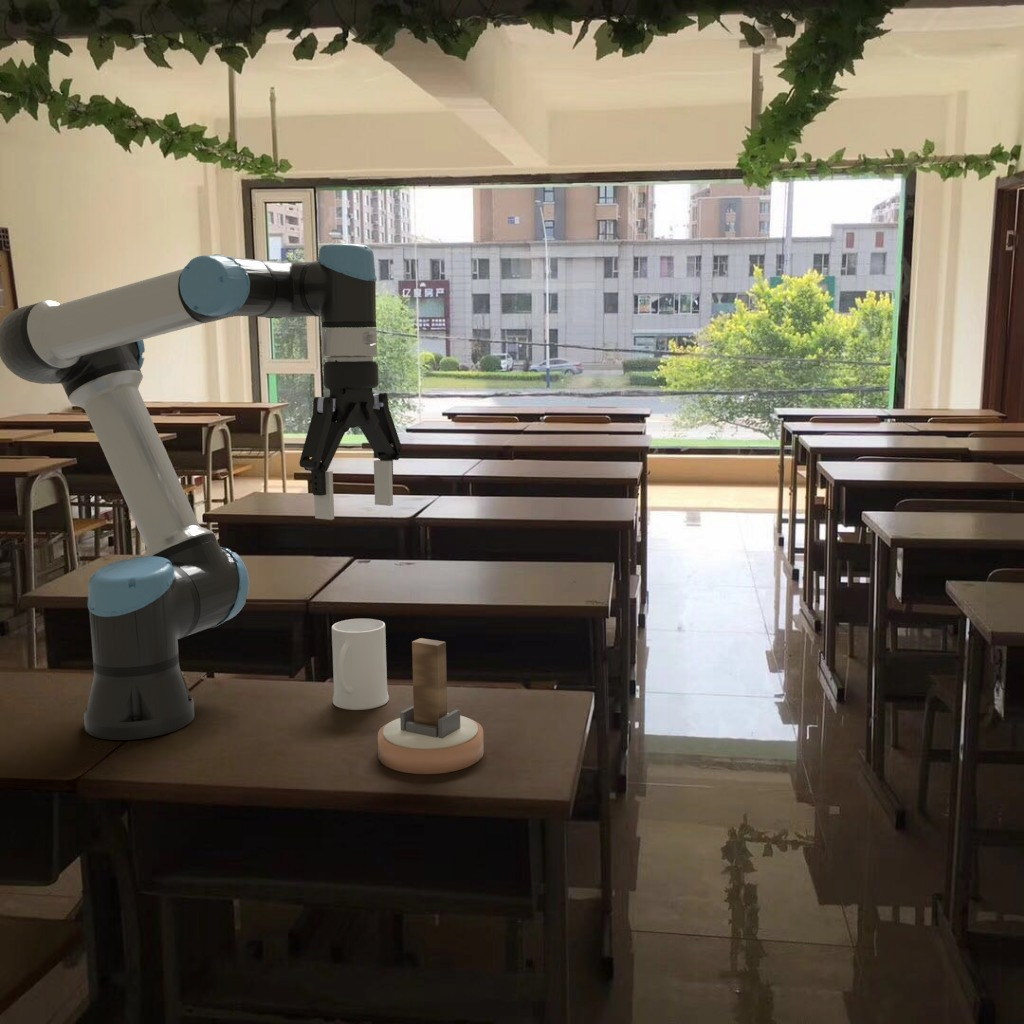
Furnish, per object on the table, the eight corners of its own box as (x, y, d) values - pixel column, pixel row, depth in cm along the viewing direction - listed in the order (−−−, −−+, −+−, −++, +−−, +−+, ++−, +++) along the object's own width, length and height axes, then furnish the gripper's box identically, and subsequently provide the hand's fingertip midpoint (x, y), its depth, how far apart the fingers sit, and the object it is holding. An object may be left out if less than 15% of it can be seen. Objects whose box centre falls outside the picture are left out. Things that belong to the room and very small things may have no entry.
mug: (362, 720, 156) (360, 640, 155) (311, 714, 159) (308, 635, 157) (398, 695, 167) (396, 620, 166) (349, 689, 170) (347, 616, 168)
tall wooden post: (414, 728, 143) (411, 641, 141) (422, 724, 145) (420, 638, 143) (439, 733, 141) (437, 645, 139) (447, 729, 143) (445, 641, 141)
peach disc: (357, 761, 141) (355, 718, 140) (417, 727, 153) (416, 688, 152) (446, 782, 134) (446, 737, 133) (502, 745, 146) (502, 703, 145)
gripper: (313, 361, 136) (319, 527, 139) (423, 357, 157) (426, 501, 161) (267, 361, 140) (275, 522, 143) (382, 357, 161) (386, 498, 164)
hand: (355, 511), depth 152 cm, fingers open, 13 cm apart
